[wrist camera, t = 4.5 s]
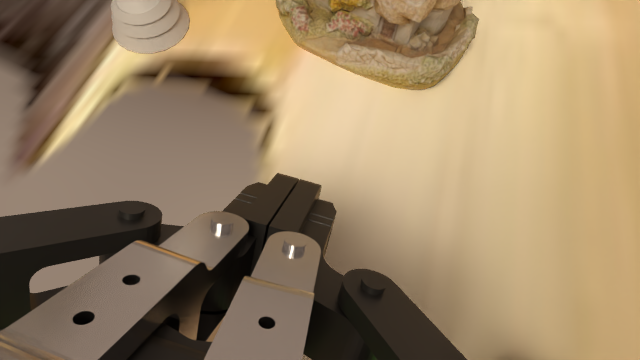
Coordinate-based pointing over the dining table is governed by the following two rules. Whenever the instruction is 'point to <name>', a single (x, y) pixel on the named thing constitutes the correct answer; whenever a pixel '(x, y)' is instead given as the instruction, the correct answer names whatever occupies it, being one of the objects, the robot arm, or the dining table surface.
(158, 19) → the chalice
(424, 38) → the ceramic model
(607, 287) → the dining table surface
